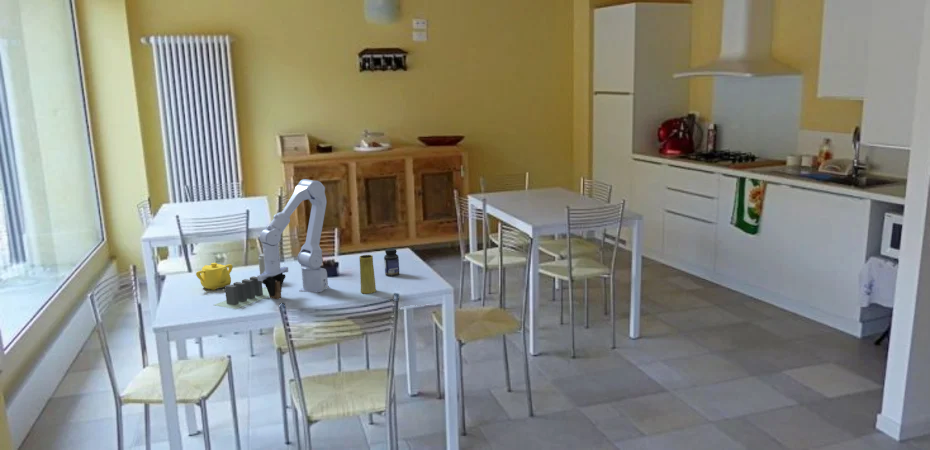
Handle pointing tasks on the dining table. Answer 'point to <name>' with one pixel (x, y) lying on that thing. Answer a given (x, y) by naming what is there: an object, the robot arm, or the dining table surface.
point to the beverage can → (261, 263)
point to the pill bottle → (391, 262)
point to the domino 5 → (277, 291)
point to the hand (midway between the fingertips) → (275, 294)
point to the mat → (224, 303)
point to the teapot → (215, 276)
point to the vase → (367, 274)
